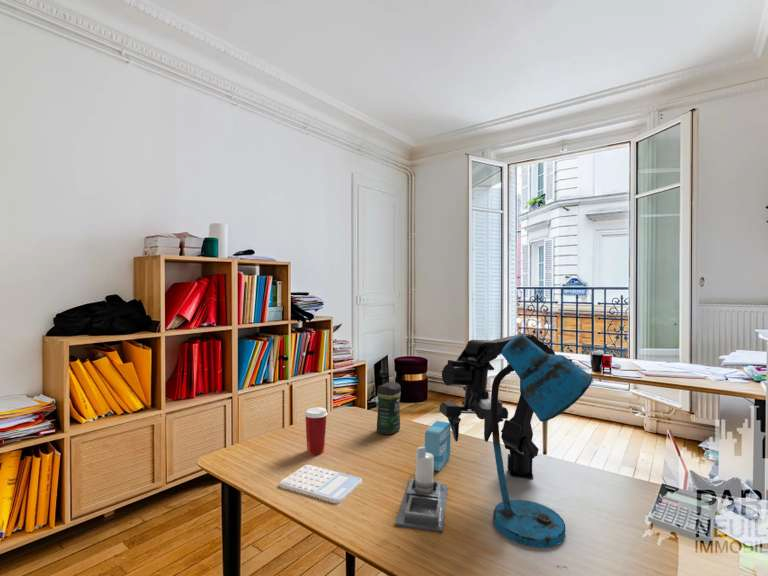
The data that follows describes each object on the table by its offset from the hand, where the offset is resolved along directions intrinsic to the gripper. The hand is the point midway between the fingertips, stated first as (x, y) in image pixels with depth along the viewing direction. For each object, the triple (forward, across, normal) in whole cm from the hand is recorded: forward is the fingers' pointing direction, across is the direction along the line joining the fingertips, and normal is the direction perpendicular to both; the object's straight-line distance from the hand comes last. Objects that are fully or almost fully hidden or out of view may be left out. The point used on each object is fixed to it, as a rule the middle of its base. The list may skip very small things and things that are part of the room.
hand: (471, 441), depth 110 cm
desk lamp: (+13, +8, -20) cm, 25 cm away
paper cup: (+16, -39, +34) cm, 54 cm away
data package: (+13, -2, +16) cm, 21 cm away
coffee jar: (+13, -10, +47) cm, 50 cm away
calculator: (+17, -39, +11) cm, 44 cm away
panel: (+14, -15, -5) cm, 21 cm away
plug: (+14, -13, -1) cm, 19 cm away
